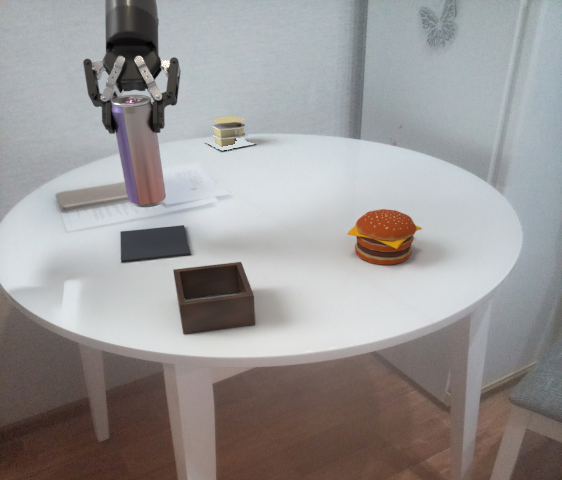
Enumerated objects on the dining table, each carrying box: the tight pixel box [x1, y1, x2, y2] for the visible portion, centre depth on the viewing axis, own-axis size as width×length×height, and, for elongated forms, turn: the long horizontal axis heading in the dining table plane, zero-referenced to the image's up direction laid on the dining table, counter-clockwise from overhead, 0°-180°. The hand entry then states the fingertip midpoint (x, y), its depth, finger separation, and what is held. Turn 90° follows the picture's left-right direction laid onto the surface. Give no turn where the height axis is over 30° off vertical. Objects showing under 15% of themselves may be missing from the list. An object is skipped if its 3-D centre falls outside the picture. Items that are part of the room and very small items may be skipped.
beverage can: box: [111, 94, 167, 208], centre depth 85 cm, size 6×6×15 cm
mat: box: [119, 224, 192, 263], centre depth 94 cm, size 11×11×1 cm
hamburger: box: [346, 208, 423, 266], centre depth 89 cm, size 9×10×7 cm
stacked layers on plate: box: [211, 115, 246, 153], centre depth 134 cm, size 10×9×6 cm
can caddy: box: [172, 261, 256, 335], centre depth 76 cm, size 10×10×4 cm
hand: (133, 130), depth 81 cm, fingers closed on beverage can, 6 cm apart
